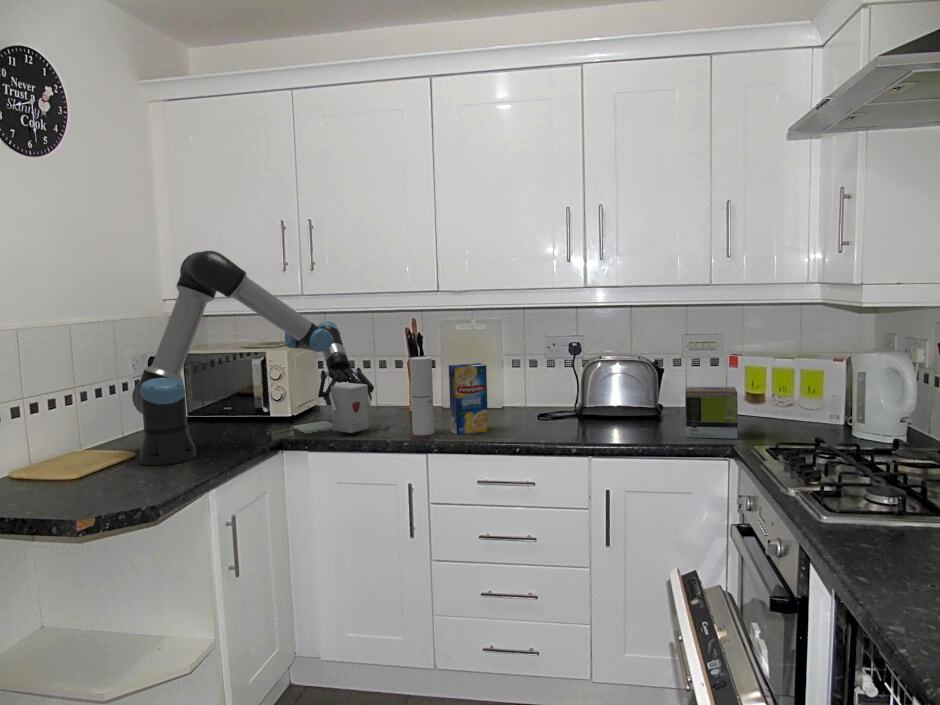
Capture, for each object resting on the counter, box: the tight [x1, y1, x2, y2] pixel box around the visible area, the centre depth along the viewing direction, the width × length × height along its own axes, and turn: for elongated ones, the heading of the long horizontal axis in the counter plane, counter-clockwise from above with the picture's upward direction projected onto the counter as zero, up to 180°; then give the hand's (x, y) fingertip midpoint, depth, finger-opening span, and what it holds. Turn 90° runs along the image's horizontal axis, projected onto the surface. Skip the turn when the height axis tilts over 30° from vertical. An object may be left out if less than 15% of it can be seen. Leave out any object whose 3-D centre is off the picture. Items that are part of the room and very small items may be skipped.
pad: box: [292, 420, 332, 434], centre depth 237 cm, size 12×11×1 cm
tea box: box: [684, 386, 739, 440], centre depth 210 cm, size 15×10×15 cm, turn 72°
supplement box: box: [330, 382, 370, 434], centre depth 226 cm, size 9×9×15 cm
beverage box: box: [448, 362, 489, 436], centre depth 225 cm, size 7×11×22 cm, turn 109°
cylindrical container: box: [409, 356, 435, 436], centre depth 224 cm, size 7×7×25 cm
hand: (352, 410), depth 224 cm, fingers closed on supplement box, 12 cm apart
